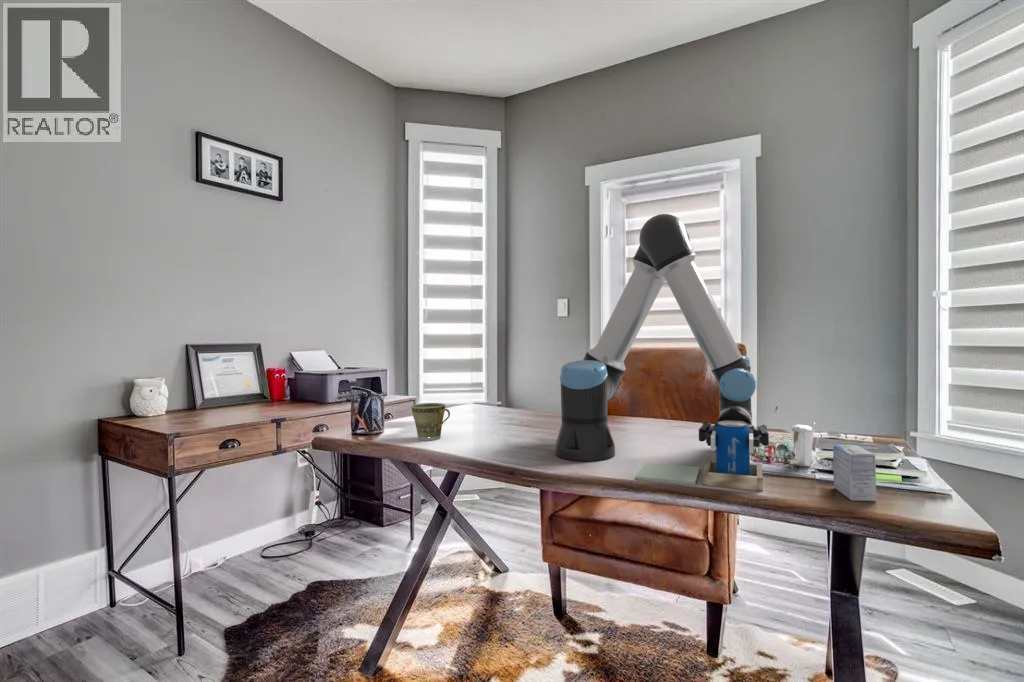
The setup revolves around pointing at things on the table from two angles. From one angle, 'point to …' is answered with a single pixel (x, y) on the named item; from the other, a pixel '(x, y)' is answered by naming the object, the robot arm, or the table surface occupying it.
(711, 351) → the robot arm
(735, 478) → the crate
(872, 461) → the medicine box
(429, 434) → the ceramic cup
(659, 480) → the mat
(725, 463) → the beverage can
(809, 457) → the milkshake
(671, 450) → the table surface
